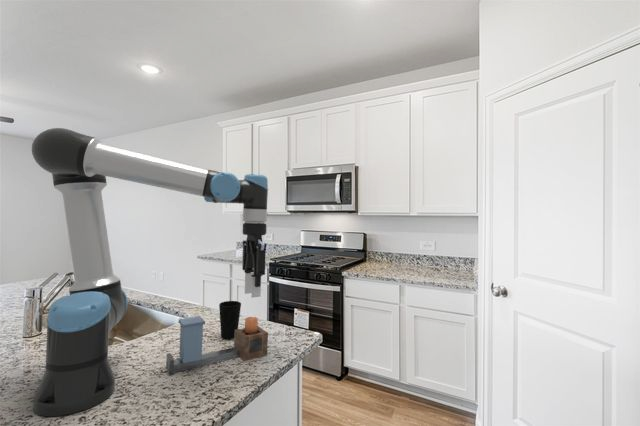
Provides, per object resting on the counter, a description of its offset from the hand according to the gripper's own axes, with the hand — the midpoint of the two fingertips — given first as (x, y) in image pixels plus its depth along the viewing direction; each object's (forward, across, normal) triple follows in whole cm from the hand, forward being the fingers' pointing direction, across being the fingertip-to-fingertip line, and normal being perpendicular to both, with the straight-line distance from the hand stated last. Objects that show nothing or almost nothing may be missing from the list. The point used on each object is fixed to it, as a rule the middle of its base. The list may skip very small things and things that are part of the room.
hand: (252, 294), depth 100 cm
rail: (+19, +1, +13) cm, 23 cm away
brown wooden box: (+19, 0, 0) cm, 19 cm away
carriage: (+16, +1, +18) cm, 24 cm away
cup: (+19, +17, +1) cm, 25 cm away
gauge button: (+12, 0, 0) cm, 12 cm away
